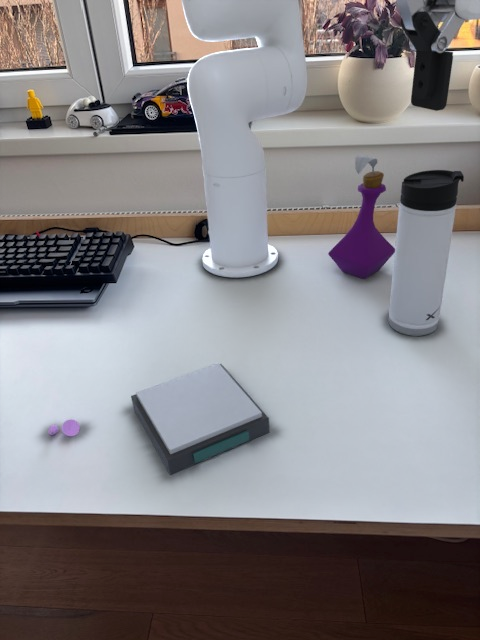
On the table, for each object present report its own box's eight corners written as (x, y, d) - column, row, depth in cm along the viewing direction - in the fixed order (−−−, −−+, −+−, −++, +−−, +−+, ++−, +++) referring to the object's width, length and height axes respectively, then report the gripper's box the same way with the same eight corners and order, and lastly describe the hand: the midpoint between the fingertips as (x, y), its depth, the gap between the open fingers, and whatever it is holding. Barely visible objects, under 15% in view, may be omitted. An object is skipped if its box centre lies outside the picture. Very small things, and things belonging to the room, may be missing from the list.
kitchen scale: (133, 409, 60) (129, 391, 59) (222, 376, 64) (220, 359, 63) (171, 477, 52) (167, 457, 50) (271, 434, 56) (270, 415, 54)
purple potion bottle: (355, 256, 90) (361, 145, 80) (394, 269, 85) (406, 152, 75) (326, 272, 85) (330, 157, 76) (367, 286, 81) (375, 166, 71)
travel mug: (443, 338, 68) (468, 182, 58) (388, 335, 69) (403, 182, 59) (437, 312, 73) (460, 165, 63) (387, 310, 75) (401, 165, 64)
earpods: (76, 439, 59) (75, 423, 60) (79, 436, 58) (79, 419, 58) (47, 440, 57) (47, 423, 58) (50, 436, 56) (50, 419, 57)
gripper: (557, -166, 41) (509, 79, 50) (374, -176, 35) (358, 107, 44) (662, -193, 35) (587, 90, 44) (465, -210, 29) (424, 124, 38)
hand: (473, 98), depth 44 cm, fingers open, 9 cm apart
